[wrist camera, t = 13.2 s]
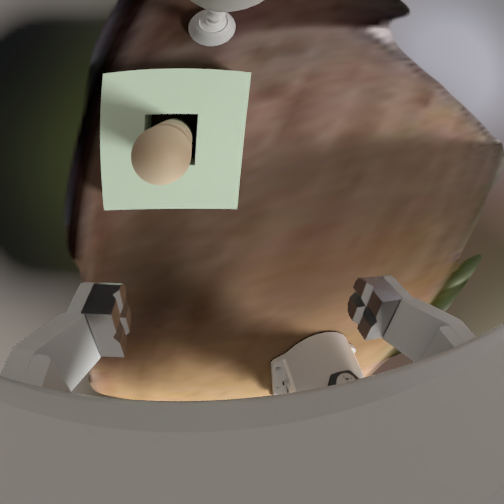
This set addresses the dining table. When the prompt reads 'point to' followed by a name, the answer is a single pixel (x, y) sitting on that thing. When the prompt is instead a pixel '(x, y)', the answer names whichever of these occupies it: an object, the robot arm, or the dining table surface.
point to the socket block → (206, 146)
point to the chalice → (216, 20)
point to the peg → (163, 152)
